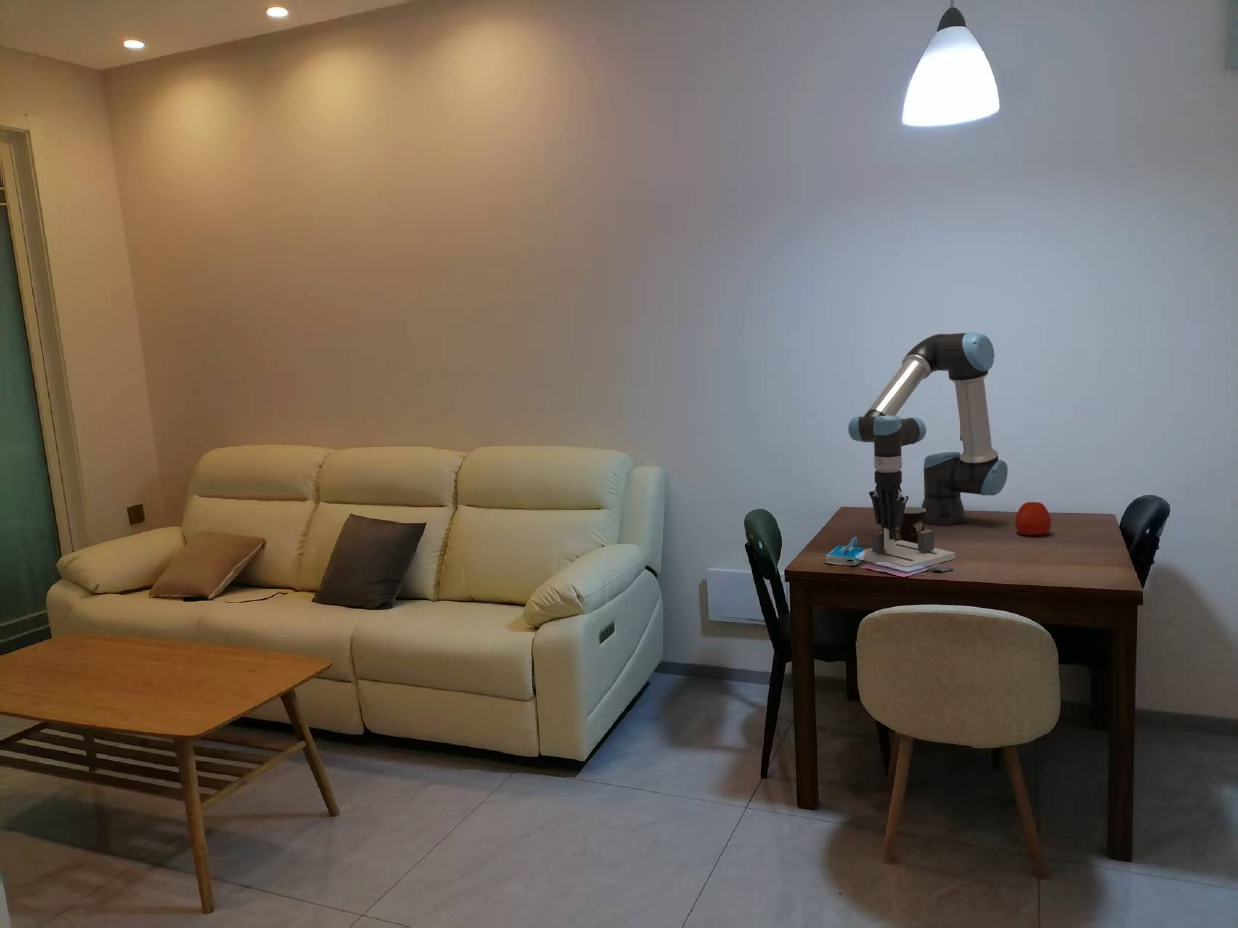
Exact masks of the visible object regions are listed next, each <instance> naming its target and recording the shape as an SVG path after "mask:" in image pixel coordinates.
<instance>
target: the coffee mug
mask: <svg viewBox="0 0 1238 928" xmlns="http://www.w3.org/2000/svg"><path fill="white" fill-rule="evenodd" d="M925 513H926V510H925V509H923V508H921V507H919V506H918V507H916V506H907V507H906V506H905V511H904V516H903V522H902V526H900V527H898V529H899V530H898V529H896V533H898V534H899V536H900V537H899V538H900V540H902V541H907V542H911V543H915V544H918V532H921V531H925V530H924V529H925V523H924V522H925Z"/></svg>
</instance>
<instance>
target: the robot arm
mask: <svg viewBox="0 0 1238 928" xmlns="http://www.w3.org/2000/svg"><path fill="white" fill-rule="evenodd" d="M994 359H995V350H994V346H993V343H992V341H991V339H990V338H989V337H988V336H987V335H986V334H985V333H984V334H983V333H981V332H979V333H978V332H975V333H974V332H962V333H961V332H960V333H959V332H957V333H938V334H937V333H936V334H934V335H931V336H928V337H926V338H925V339H923V340H921V341H920V342H919V343H917V344H916V345H915V346H913V348H911V349H910V351H908V353H906V355H905V356H904V358H903V359H902V361H901V366H900V368H899V369H898V371H897V372H896V373H895V375H894V376H893V377H892V378H891V380H890V381H889V383H888V384H887V385H886V386H885V388H884V389H883V390H882V391H881V393H880V394H879V396H878V397H877V398H876V400H875V401H874V402H873V403H872V404H871V407H870V408H869V409H868V410H867V412H866V413H864V415H863V416H854V417H853V418H851V419H850V421H849V423H848V427H847V428H848V429H847V430H848V435H849V437H850V438H851V440H853V441H856V442H860V443H873V447H874V448H873V449H874V450H873V451H874V453H873V455H874V456H873V459H874V469H875V471H874V483H875V484H876V485H875V487H874V488H875V489H873V490H872V491H871V490H870V491H869V492H868V495H869V497H870V499H871V502H872V508H873V512H874V517H875V522H876V524H877V525H880V527H881V529H882V530H881V531H882V536H883V538H884V550H887V551H890V550H893V549H895V542H896V541H895V539H896V538H897V532H896V530H897V529H898V528H899V527H900V526H902V522H903V516H904V511H905V507H906V506H907V505H906V504H907V502H908V501H909V496H908V495H904V494H903V493H902V492H903V491H902V488H901V484H902V482H903V475H902V474H903V473H902V469H903V465H902V447H905V446H908V445H914V444H917V443H919V442H921V441H922V440H923V439H924V438H925V437H926V434H927V427H926V424H925V422H924V421H923V420H922V419H920V418H918V417H907V418H901V417H900V416H898V415H897V414H898V412H899V411H900V410H901V408H902V407H903V406H904V404H905V403H906V402H907V401H908V399H909V397H911V395H912V394H913V392H914V391H915V390H916V388H917V387H918V386H919V384H920V383H921V381H923V380H925V379H927V378H928V377H930V375H931V374H932V373H935V372H938V371H941V372H948V379H949V380H950V381H952V382H953V383H954V386H955V387H954V388H955V393H956V402H957V410H958V417H959V426H960V433H961V440H962V442H961V443H962V448H963V452H962V453H960V452H958V451H949V452H940V453H934V454H929V455H927V456H925V457H924V462H923V483H924V484H923V487H924V488H923V495H924V496H923V497H924V498H923V501H922V504H921V507H920V508H923V509H925V510H926V513H925V522H924V524H927V525H928V524H929V525H936V526H954V525H959V524H964V523H966V521H967V512H966V510H965V508H964V504H963V501H962V498H961V494H962V493H964V494H970V495H971V494H973V495H980V496H996V495H998V494H1000V493H1001V491H1003V489H1004V487H1005V484H1006V482H1007V480H1008V474H1009V473H1008V471H1009V470H1008V465H1007V464H1008V463H1006V461H1005V460H1002V459H999V452H998V451H997V450H995V449H993V445H992V436H991V427H990V426H991V425H990V420H989V419H990V418H989V411H988V402H987V393H986V388H985V387H986V386H985V378H986V377H987V376H988V374H989V370H990V369H992V367H993V366H994V362H995V361H994Z"/></svg>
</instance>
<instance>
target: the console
mask: <svg viewBox="0 0 1238 928" xmlns="http://www.w3.org/2000/svg"><path fill="white" fill-rule="evenodd" d="M863 550H864V551H865V555H864V557H865V559H866V560H868V561H874V562H889V563H892V564H896V565H898V566H901V567H912V566H914V565H916V564H920V563H932V564H937V565H939V564H938V563H940V564H942V563H941V562H944V561H947V562H949V560H951V561H953V560H952V559H954V560H956V552H955V551H949V550H945V549H941V548H938V547H934V550H931V551H927V552H922V551H918V543H911V542H907V541H902V540H901V539H899V540H897V541H895V549H893V550H890V551H886V552H882V553H875V552H872V547H870V548H867V549H863ZM944 563H945V562H944Z"/></svg>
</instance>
